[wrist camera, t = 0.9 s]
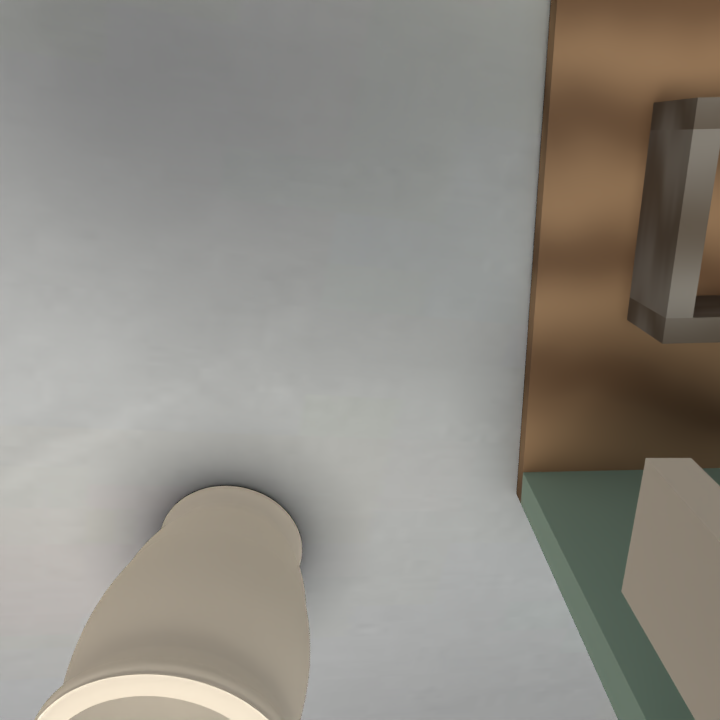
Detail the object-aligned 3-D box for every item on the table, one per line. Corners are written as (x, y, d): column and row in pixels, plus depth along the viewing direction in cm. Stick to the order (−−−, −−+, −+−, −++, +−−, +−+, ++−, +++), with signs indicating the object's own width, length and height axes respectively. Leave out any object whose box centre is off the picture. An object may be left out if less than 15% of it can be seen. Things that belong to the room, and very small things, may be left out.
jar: (349, 511, 37) (345, 738, 23) (277, 635, 41) (234, 902, 26) (182, 438, 36) (68, 635, 22) (120, 573, 39) (-15, 823, 25)
